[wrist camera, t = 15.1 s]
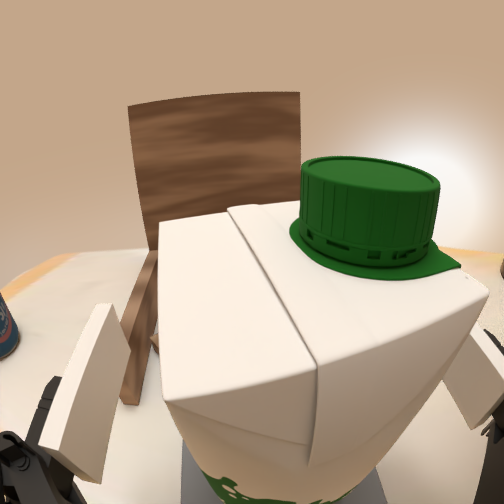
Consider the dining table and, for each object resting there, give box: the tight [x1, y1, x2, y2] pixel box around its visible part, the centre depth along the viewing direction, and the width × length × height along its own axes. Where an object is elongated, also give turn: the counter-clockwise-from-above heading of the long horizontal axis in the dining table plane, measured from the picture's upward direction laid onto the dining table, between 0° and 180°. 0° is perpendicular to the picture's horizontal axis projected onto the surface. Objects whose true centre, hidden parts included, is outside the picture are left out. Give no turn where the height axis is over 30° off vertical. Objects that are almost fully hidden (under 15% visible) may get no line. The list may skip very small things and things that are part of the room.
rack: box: [119, 92, 301, 405], centre depth 27 cm, size 22×20×24 cm
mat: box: [181, 440, 387, 504], centre depth 17 cm, size 14×14×1 cm
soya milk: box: [158, 156, 490, 504], centre depth 12 cm, size 9×9×20 cm
